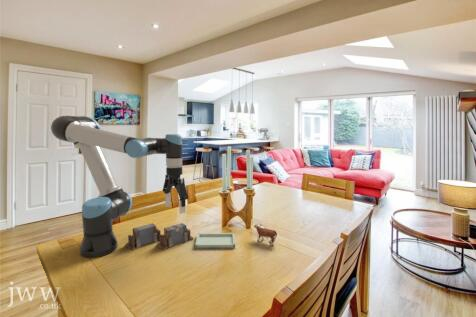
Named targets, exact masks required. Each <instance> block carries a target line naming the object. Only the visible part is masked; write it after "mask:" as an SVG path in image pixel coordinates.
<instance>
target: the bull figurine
mask: <svg viewBox="0 0 476 317" xmlns="http://www.w3.org/2000/svg"><path fill="white" fill-rule="evenodd" d="M262 225H263V224H260V223H258V222H257V223H256V224H255V225H253V227H254V229H255V230H256V232H257V235H258V238H257V240H256V241H257V242H260V241H264V240H265V238H266V240H268V239H269V238H270V240H269V243H270V246H274V243H275V241H276V238H277V236H278V233H277V231H276V230H275V229H274V230H273V229H270V228H266V227H264V226H262Z"/></svg>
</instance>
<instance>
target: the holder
mask: <svg viewBox="0 0 476 317" xmlns="http://www.w3.org/2000/svg"><path fill="white" fill-rule="evenodd" d="M160 235H161V230H160V229H159V228H158V227H156V233H155V234H154V242H153V243H158V242H160ZM127 239H128V242H126V243H124V244H125V246H124V247H126V248H127V249H128V250H129V251H133V250H135V249H136V248H137V249H139V248H141V243H140V238H137V239H136V241H137V247H135V246H134V238H133V234H132V235H131V234H128V236H127Z"/></svg>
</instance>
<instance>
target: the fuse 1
mask: <svg viewBox="0 0 476 317" xmlns="http://www.w3.org/2000/svg"><path fill="white" fill-rule="evenodd" d="M156 228H157V226H156V224H154V223H153V222H152V223H149V224H143V225H142V226H141V225H140V226H137V227H133V228H132V235H133V238H134V246H135V248H137V241H136V239H137V238H140V243H141V246H145V245H148V244H151V243H154V234H155V233H156Z"/></svg>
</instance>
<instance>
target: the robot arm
mask: <svg viewBox="0 0 476 317" xmlns="http://www.w3.org/2000/svg"><path fill="white" fill-rule="evenodd" d="M50 130H51V134H52V135H53V136H54V137H55V138H56V139H57V140H60V141H63V142H68V143H71V144H72V143H73V145H74V147H76V148H78V149H79V150H80V153H81V154H82V156H83V159H84V162H85V163H86V166H87V167H88V170H89V173H90V174H91V176H92V177H91V178H92V179H93V181H94V183H95V185H96V187H97V189H98V192H99V193H98V196H97V197H95V198H89V199H88V200H86V201H84V203H83V204H82V207H81V218H82V229H83V230H82V231H83V237H82V241H81V244H80V247H79V253H80V256H81V257H83V258H89V259H91V258H92V259H93V258H100V257H103V256H106V255H109V254H111V253H113V252H114V251H116V250H117V248H118V246H119V245H118V240H117V238H116V235H115V233H114V231H113V222H115V220H118V219H119V218H121V217H122V216H125V215H126V214H127V213H129V212H130V211H131V209H132V207H133V198H132V196H131V195H130V193H128V192H126V191H124V189H123V187H122V186H119V185H118V184H117V181H116V179H115V177H114V175H113V172H112V171H111V168H110V166H109V164H108V162H107V161H108V160H107V159H106V157H105V155H104V153H103V150H102V149H106V150H110V151H114V152H119V153H122V154H127V155H128V156H129V157H130V158H133V159H136V158H137V159H140V158H143V157H146V156H151V155H165V166H166V168H165V170H166V172H165V173H166V174H165V179H164V183H163V187H162V192H163V193H164V194H165V196H164V198H165V200H164V201H165V207H166V208H167V207H171V206H172V191H171V190H172V189H173V187H174V188H175V189H176V192H177V194H178V197H179V198H178V201H179V202H178V203H179V206H178V207H179V209H178V210H179V214H181V215H182V214H184V213H186V200H188V199H189V195H188V190H187V187H186V184H185V178H184V177H182V178H181V175H182V176H183V167H182V166H183V139H182V135H181V134H178V133H177V134H176V133H175V134H174V133H169V134H165V137H164V138H160V137H159V138H158V137H143V138H136V137H133V136H130V135H125V134H120V133H116V132H113V131H108V130H104V129H101V126H100V124H99V123H98V121H97V120H95V119H94V118H92V117H89V116H84V115H81V116H80V115H79V116H78V115H61V116H58V117H57V118H55V119H54V120H53V121H52V122H51V125H50Z"/></svg>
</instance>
